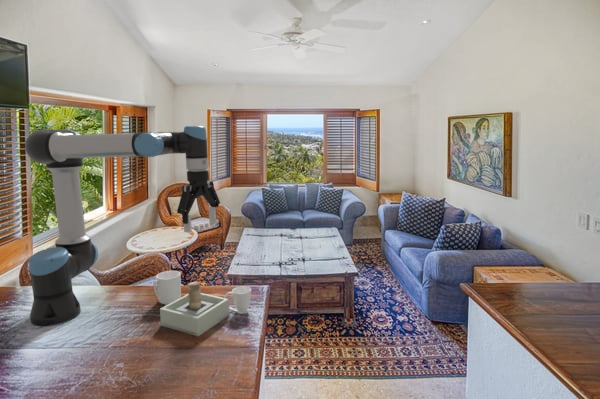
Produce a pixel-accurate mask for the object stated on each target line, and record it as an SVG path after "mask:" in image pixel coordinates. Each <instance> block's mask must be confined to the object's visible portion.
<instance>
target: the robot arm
mask: <svg viewBox="0 0 600 399" xmlns="http://www.w3.org/2000/svg"><path fill="white" fill-rule="evenodd" d="M24 150H25V153H26V154H27V156H28V157H29V158H30V159H31V160H32V161H34V162H36V163H38V164H41V165H45V167H46V169H47V170H48V171H50V172H51V177H52V185H53V194H54V202H55V212H56V219H57V229H58V235H59V237H57V239H55V241H54V244H55V246H54V247H49V248H46V249H42V250H39V251H37V252H35V253H34V254H32V255H31V256H30V258H29V259H28V271H29V276H30V282H31V288H32V289H31V290H32V295H33V302H32V306H31V310H30V314H29V319H30V323H31V325H33V326H39V327H47V326H54V325H58V324H63V323H66V322H68V321H70V320H72V319H75V318H76V317H78V316H79V315H80V313H81V312H82V310H81V309H82V308H81V304H80V302H79V300H78V298H77V296H76V294H75V293H74V291H73V282H72V279H74V278H76V277H77V276H79V275H81V274H82V273H84V272H85V273H86V272H87V271H89V270H90V269H91V268H92V267H93V266H94V265H95V263H97V260H98V258H99V250H98V247H97V245H96V244H94V242H93V241H92V238H91V235H89V234H87V233H86V227H85V218H84V217H85V216H84V207H83V198H82V197H83V196H82V186H81V180H80V178H81V177H80V170H81V169H82V168H84V163H83V159H87V158H88V159H92V158H95V159H96V158H99V159H100V158H124V157H125V158H127V157H130V158H132V157H145V158H153V157H154V158H155V157H157V156H163V155H169V154H170V155H171V154H172V155H173V154H184V155H185V166H186V170H187V171H186V179H187V182H189V183H188V185H182V188H181V189H182V190H181V191H182V192H181V195H180V200H179V203H178V207H177V210H176V213H177V214H180V215H181V216H182V218H181V220H182V223H183V232H184V233H187V234H188V233H189V234H191V233H192V216H191V213H190V212H191V209H192V207H193V205H194V203H195V200H196V199H197V198H198V197H201V196H203V198H204V200H205V201H206V202H207V203H208V205H209V206H208V218H209V220H208V221H209V224H210V225H216V224H217V208H218V207H219V205H220V204H221V202H220V199H219V196H218V194H217V192H216V189H215V187H214V186H215V185H214V181H211V180H210V175H209V174H210V173H209V170H208V169H209V164H208V163H209V161H208V138H207V130H206V127H205V126H203V125H202V126H201V125H197V126H196V125H190V126H184V127H183V131H179V132H178V131H174V132H173V131H157V132H151V131H149V132H137V133H135V132H127V133H125V132H124V133H123V132H122V133H103V134H102V133H95V134H94V133H91V134H90V133H89V134H80V133H78V132H77V131H75V130H70V129H64V128H62V129H39V130H35V131H33V132H31V133H30V134H29V135H28V137H27V138H26V139H25V143H24ZM209 180H210V181H209Z"/></svg>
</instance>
